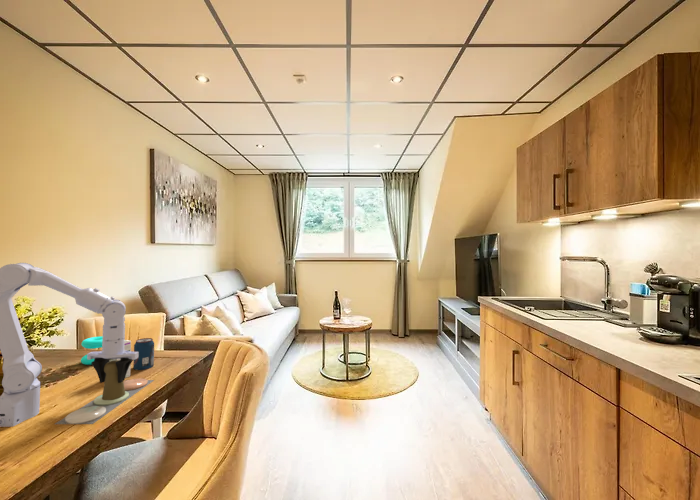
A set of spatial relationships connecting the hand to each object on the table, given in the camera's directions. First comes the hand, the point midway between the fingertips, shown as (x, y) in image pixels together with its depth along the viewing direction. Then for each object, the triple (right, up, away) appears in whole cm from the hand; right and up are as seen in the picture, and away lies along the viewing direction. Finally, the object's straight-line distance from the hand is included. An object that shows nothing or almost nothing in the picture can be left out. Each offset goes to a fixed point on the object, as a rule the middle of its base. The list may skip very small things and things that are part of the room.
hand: (112, 381), depth 101 cm
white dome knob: (0, -5, -11) cm, 12 cm away
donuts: (-34, -6, +36) cm, 49 cm away
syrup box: (-11, -7, +17) cm, 21 cm away
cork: (0, -5, +1) cm, 5 cm away
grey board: (0, -7, 0) cm, 7 cm away
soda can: (-8, -7, +28) cm, 30 cm away
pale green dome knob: (0, -6, 0) cm, 6 cm away
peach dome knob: (-1, -6, +10) cm, 12 cm away
